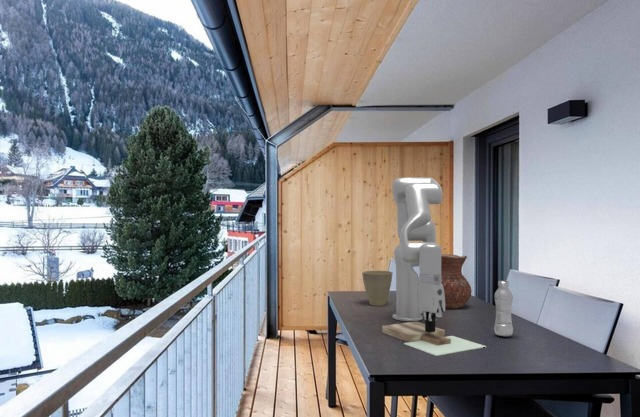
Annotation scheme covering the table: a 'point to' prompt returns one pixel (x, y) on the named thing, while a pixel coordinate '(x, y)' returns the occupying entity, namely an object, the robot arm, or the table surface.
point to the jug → (454, 281)
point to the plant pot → (377, 286)
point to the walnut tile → (436, 339)
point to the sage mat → (445, 346)
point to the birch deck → (409, 331)
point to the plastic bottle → (503, 310)
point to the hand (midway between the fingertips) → (430, 331)
